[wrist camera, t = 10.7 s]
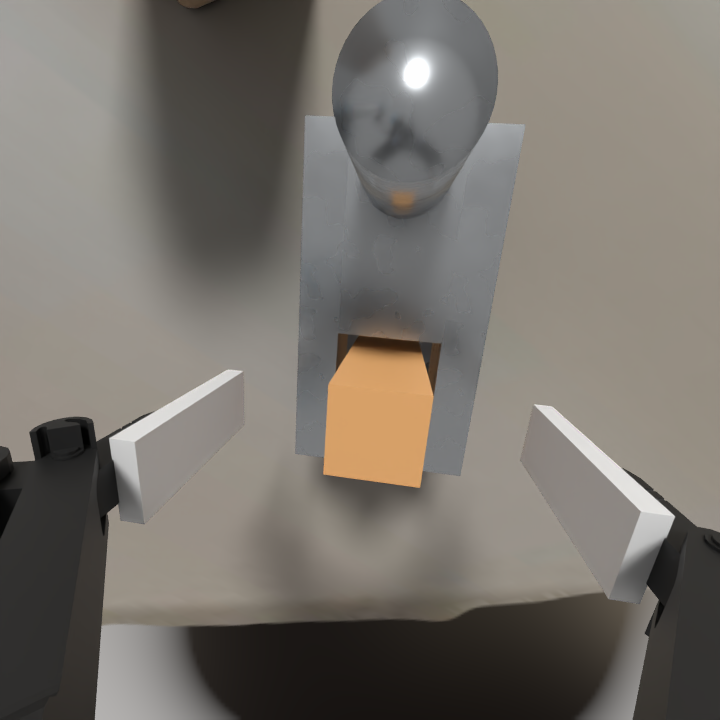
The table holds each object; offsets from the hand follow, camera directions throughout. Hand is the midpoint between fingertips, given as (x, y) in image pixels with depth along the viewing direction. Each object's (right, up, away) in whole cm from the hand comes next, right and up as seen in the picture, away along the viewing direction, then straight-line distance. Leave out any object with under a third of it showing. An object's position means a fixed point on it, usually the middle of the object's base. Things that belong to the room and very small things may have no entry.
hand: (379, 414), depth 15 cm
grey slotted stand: (+2, +7, +11) cm, 13 cm away
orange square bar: (+1, +3, +11) cm, 12 cm away
